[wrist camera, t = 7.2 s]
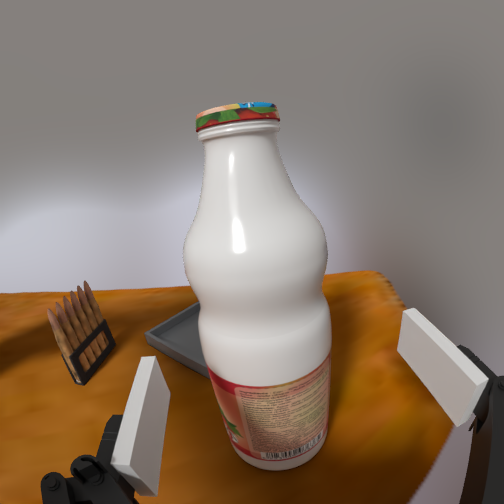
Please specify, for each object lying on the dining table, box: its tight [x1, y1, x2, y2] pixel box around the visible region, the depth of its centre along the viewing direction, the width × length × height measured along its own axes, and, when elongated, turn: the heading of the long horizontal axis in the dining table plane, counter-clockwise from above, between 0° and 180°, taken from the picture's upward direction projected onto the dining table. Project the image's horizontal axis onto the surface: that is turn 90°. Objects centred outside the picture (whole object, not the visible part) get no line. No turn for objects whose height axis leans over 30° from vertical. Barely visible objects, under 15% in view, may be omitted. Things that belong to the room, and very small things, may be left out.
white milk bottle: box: [183, 102, 332, 471], centre depth 21 cm, size 9×9×28 cm
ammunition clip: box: [48, 281, 116, 385], centre depth 37 cm, size 11×2×12 cm, turn 173°
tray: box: [144, 301, 211, 379], centre depth 44 cm, size 15×15×2 cm
